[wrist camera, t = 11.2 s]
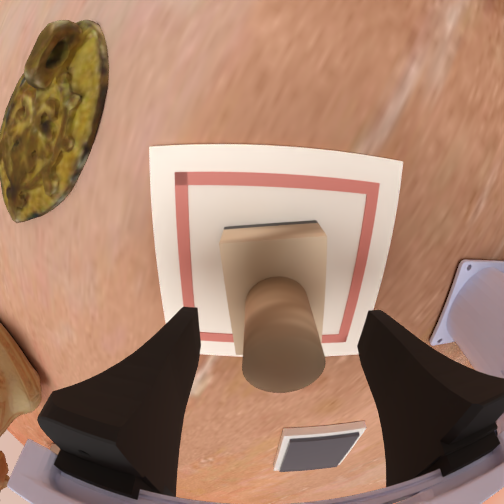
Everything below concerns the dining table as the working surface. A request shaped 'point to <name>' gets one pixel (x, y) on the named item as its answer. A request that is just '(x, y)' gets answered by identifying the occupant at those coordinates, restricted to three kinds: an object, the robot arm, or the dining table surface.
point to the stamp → (276, 301)
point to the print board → (271, 211)
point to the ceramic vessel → (15, 389)
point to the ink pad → (316, 446)
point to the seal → (53, 117)
